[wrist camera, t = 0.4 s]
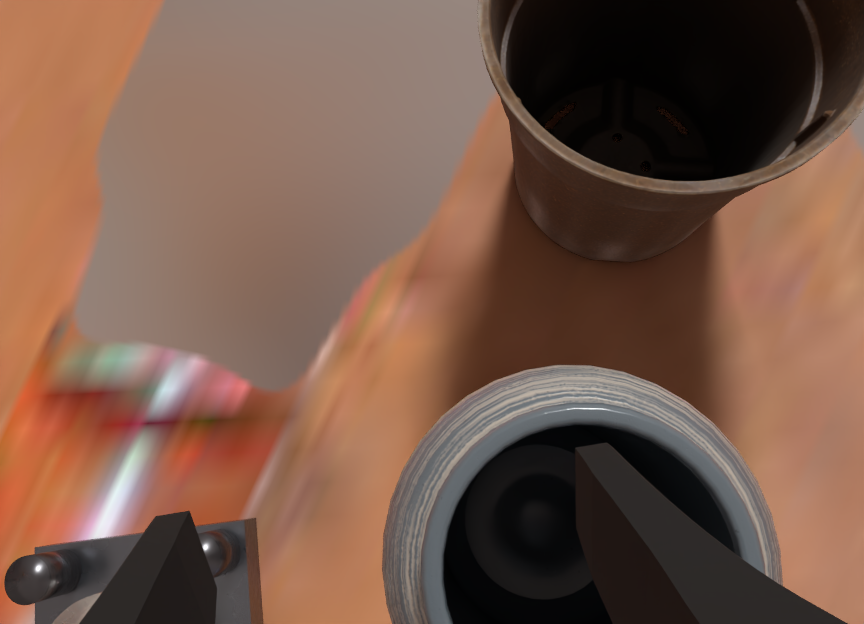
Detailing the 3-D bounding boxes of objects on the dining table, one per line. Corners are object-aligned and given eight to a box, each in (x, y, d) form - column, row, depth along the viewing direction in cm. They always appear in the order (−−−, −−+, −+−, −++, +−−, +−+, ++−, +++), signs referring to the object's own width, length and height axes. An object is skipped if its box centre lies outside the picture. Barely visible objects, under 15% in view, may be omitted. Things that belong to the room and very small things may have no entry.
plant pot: (591, 3, 47) (640, -231, 32) (806, 145, 44) (980, -37, 28) (430, 187, 45) (396, 37, 30) (642, 350, 42) (729, 277, 26)
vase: (649, 425, 41) (834, 369, 19) (638, 643, 39) (833, 877, 16) (446, 403, 42) (392, 326, 20) (422, 614, 40) (332, 792, 18)
